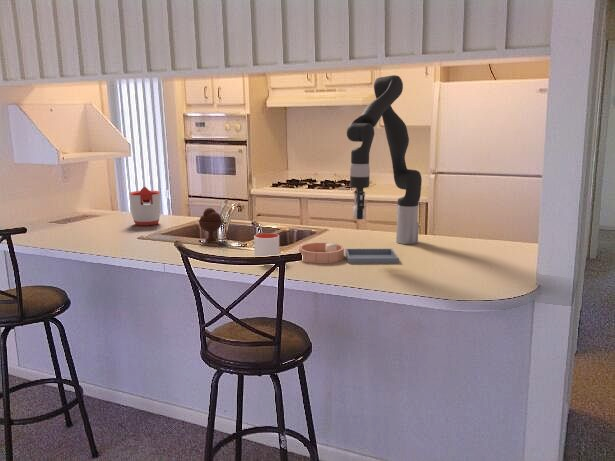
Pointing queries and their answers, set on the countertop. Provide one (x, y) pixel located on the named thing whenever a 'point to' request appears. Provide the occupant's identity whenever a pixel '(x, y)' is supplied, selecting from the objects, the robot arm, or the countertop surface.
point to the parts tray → (371, 256)
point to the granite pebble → (356, 212)
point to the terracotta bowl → (320, 253)
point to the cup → (266, 244)
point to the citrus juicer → (145, 207)
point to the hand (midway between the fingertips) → (359, 217)
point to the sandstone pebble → (331, 247)
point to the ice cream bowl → (210, 223)
